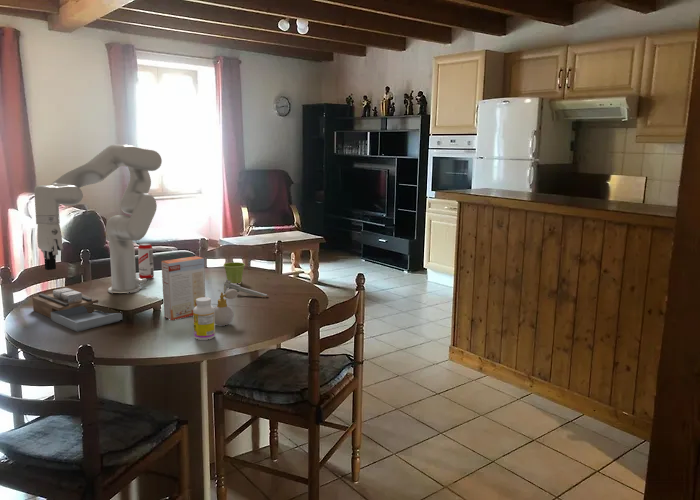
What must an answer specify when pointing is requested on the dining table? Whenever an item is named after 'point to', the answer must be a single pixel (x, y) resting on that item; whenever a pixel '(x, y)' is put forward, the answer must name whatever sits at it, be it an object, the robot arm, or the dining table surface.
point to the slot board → (57, 304)
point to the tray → (83, 318)
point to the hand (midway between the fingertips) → (50, 269)
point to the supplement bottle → (204, 319)
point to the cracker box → (182, 286)
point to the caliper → (240, 288)
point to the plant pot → (234, 271)
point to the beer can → (145, 261)
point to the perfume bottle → (224, 308)
